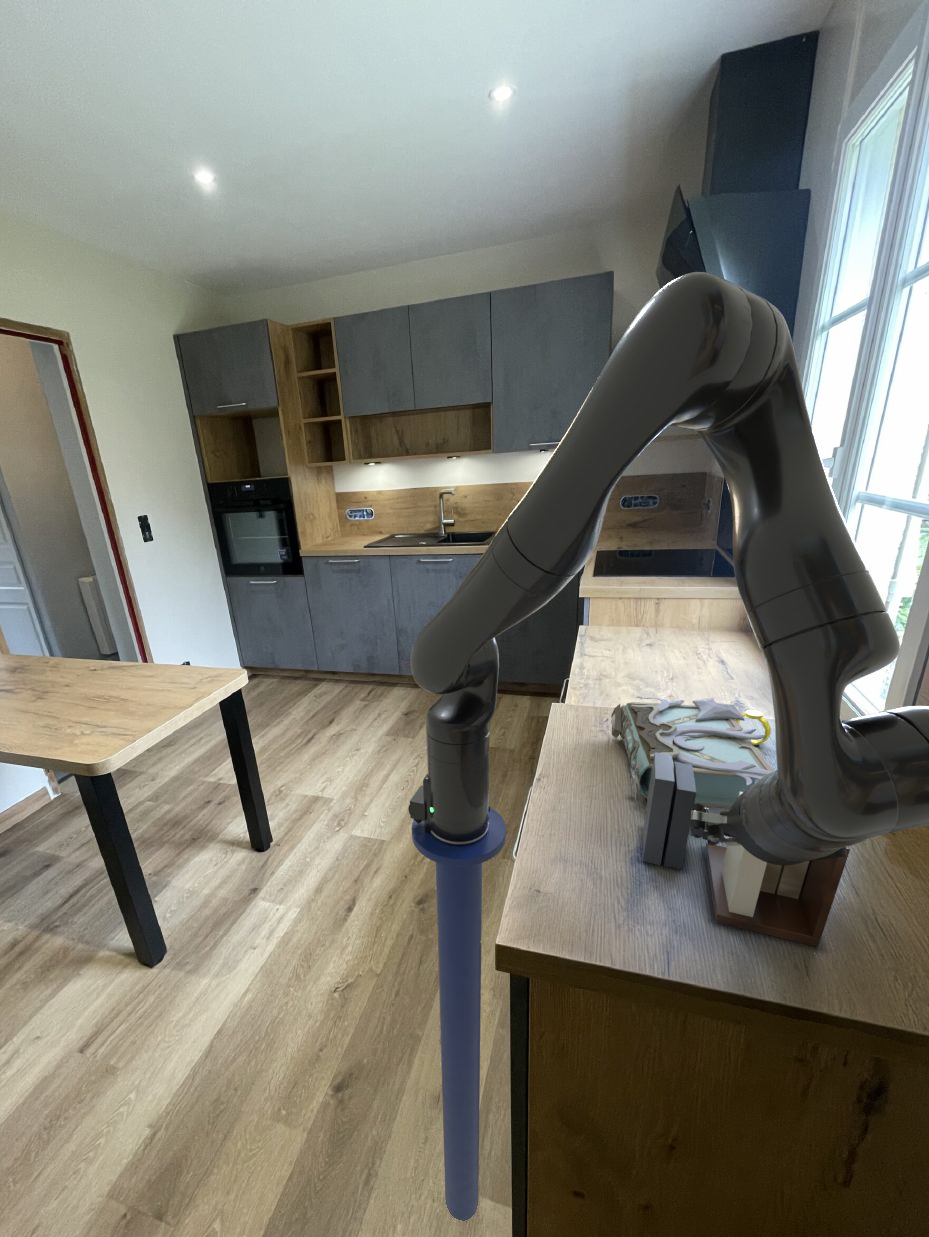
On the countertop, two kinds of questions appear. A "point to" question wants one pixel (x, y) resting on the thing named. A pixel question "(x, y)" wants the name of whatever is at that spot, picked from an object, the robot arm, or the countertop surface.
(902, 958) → the countertop surface
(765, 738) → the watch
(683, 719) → the ornate book
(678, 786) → the grey books
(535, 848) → the countertop surface
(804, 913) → the book stand
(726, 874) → the ivory book
